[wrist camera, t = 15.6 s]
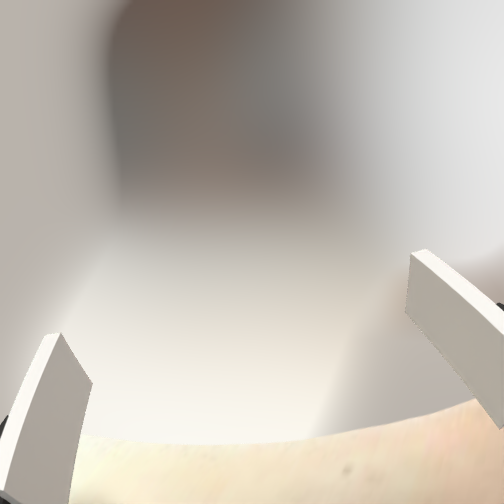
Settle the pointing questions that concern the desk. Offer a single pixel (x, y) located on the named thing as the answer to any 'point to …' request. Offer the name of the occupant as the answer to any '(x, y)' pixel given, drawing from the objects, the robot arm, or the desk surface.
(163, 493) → the desk surface
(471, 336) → the robot arm
